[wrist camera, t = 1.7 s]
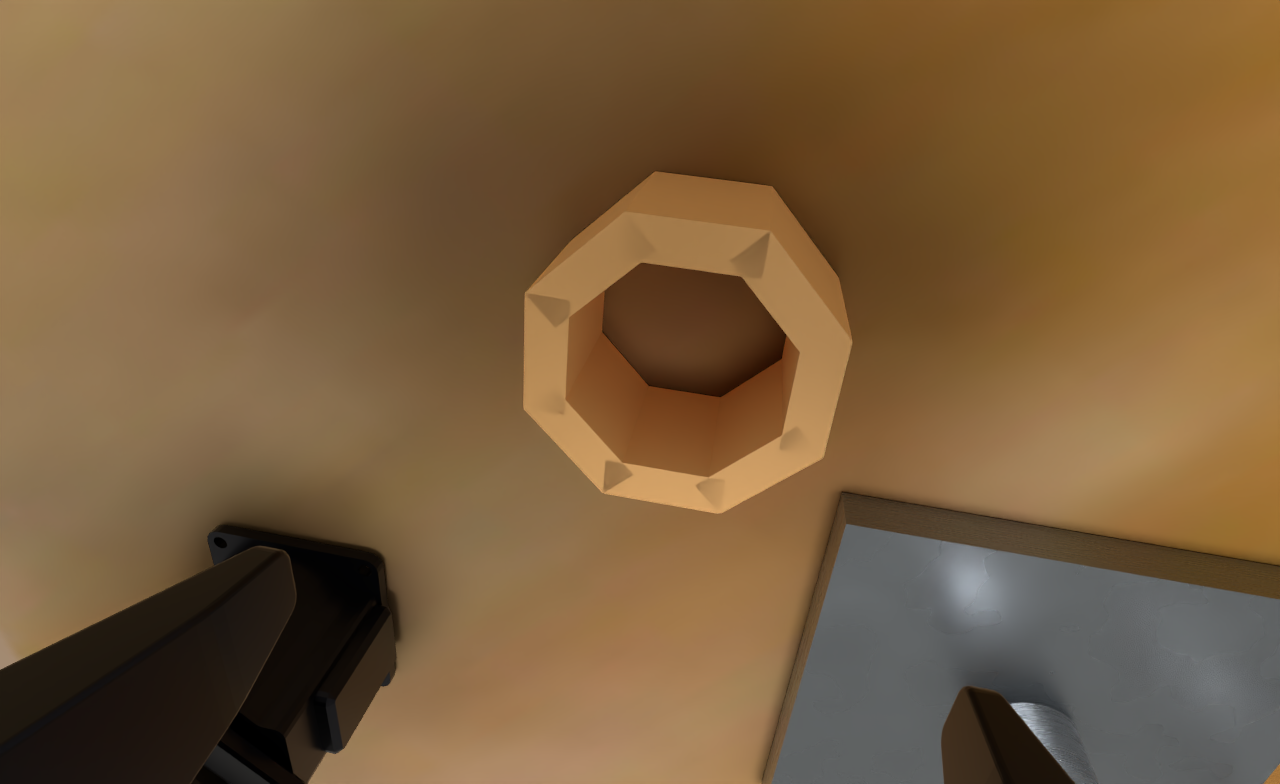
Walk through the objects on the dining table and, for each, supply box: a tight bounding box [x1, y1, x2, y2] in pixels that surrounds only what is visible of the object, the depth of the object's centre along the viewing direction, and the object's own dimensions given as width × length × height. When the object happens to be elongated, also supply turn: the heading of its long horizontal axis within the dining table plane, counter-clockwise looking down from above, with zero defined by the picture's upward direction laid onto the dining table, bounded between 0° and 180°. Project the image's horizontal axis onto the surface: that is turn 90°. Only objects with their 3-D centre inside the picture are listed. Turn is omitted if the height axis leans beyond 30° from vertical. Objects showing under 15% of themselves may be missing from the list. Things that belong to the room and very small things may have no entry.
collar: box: [523, 171, 853, 514], centre depth 18 cm, size 7×7×4 cm
